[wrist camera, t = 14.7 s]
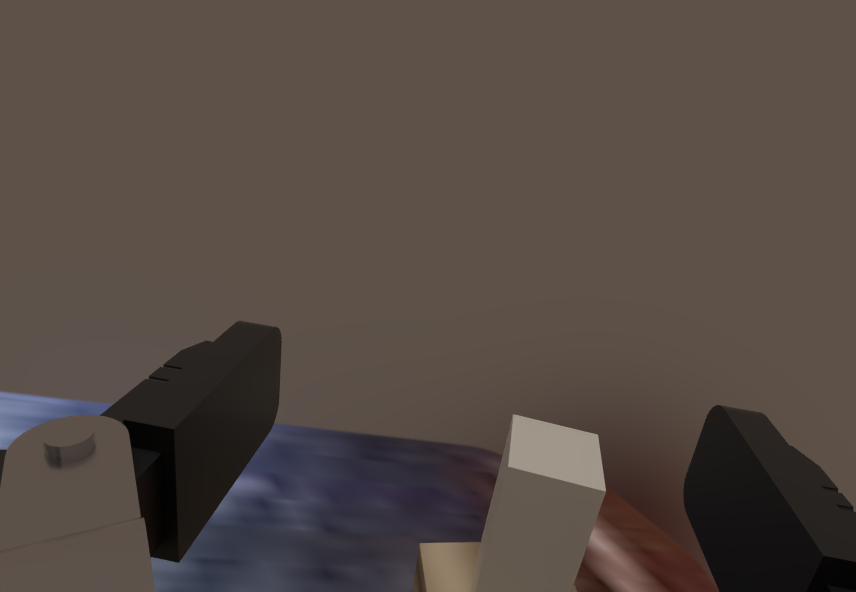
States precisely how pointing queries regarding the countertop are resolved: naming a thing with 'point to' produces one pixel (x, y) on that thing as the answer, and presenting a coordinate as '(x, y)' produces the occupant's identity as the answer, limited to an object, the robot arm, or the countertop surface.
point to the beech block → (447, 567)
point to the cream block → (540, 509)
